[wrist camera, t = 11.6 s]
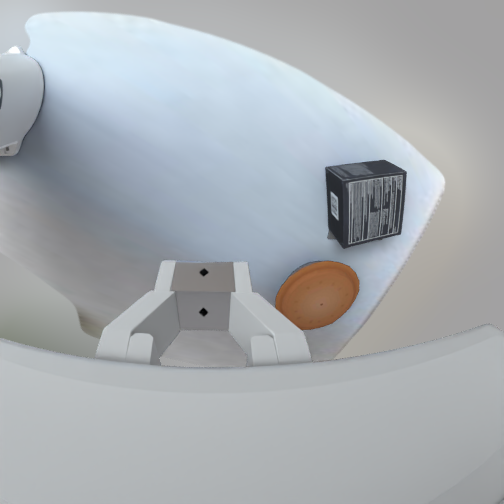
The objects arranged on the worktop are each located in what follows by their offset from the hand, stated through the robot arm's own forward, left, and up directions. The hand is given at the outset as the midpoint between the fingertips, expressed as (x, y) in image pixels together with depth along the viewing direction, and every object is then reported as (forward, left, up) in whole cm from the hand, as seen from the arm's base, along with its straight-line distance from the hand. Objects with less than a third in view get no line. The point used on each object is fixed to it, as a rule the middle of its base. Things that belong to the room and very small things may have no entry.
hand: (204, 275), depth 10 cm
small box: (+17, -7, -25) cm, 31 cm away
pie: (+18, -24, -29) cm, 42 cm away
